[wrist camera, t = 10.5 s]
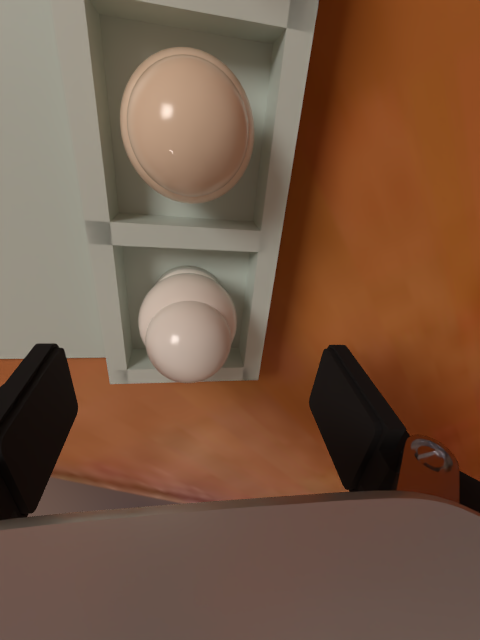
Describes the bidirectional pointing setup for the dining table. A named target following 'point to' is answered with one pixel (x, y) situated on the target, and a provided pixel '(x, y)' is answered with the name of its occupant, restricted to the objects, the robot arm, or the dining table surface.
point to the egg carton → (134, 174)
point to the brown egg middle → (187, 125)
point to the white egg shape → (187, 324)
